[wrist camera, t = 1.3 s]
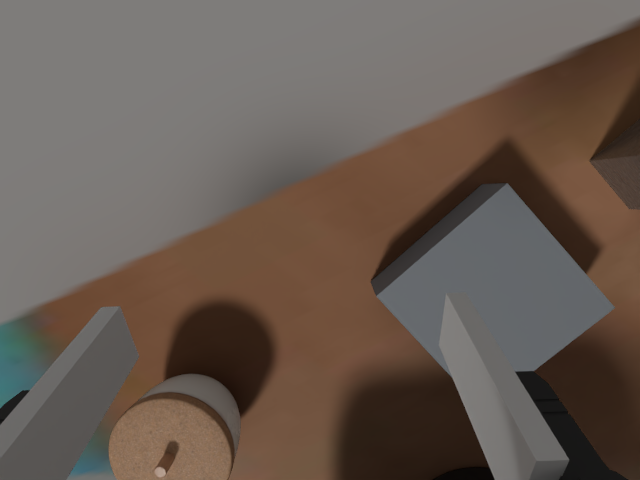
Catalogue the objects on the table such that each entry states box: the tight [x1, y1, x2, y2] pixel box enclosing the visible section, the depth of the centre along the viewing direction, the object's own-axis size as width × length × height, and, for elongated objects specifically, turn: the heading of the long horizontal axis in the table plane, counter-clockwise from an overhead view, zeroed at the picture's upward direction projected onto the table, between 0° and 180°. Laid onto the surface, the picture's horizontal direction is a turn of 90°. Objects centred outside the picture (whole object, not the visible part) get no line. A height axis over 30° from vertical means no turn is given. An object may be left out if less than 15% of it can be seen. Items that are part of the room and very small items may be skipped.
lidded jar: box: [109, 374, 241, 480], centre depth 33 cm, size 11×11×9 cm
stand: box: [371, 183, 615, 377], centre depth 33 cm, size 14×14×5 cm
